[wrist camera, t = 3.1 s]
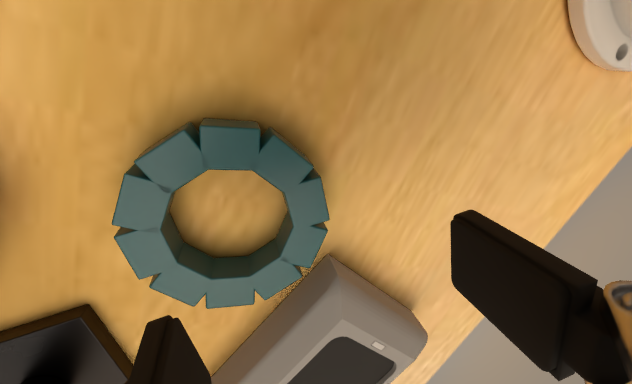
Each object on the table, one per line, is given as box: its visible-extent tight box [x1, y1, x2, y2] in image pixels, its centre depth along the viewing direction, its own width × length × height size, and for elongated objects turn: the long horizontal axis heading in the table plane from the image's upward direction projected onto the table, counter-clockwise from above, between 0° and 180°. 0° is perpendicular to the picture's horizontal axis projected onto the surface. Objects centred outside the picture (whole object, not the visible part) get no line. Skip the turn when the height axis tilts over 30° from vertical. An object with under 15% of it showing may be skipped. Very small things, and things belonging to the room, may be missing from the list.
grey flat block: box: [211, 254, 428, 384], centre depth 21 cm, size 10×4×15 cm
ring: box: [112, 118, 330, 309], centre depth 16 cm, size 10×10×2 cm
